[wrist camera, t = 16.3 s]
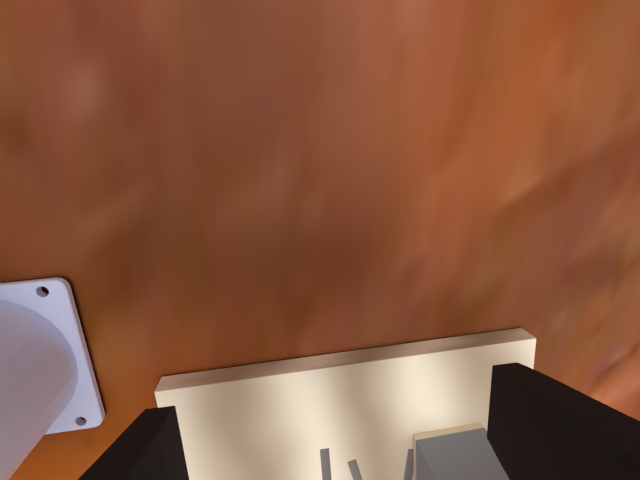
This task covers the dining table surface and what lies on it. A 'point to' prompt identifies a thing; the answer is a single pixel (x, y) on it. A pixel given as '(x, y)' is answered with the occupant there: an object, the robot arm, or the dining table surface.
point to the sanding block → (456, 455)
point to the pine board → (336, 408)
